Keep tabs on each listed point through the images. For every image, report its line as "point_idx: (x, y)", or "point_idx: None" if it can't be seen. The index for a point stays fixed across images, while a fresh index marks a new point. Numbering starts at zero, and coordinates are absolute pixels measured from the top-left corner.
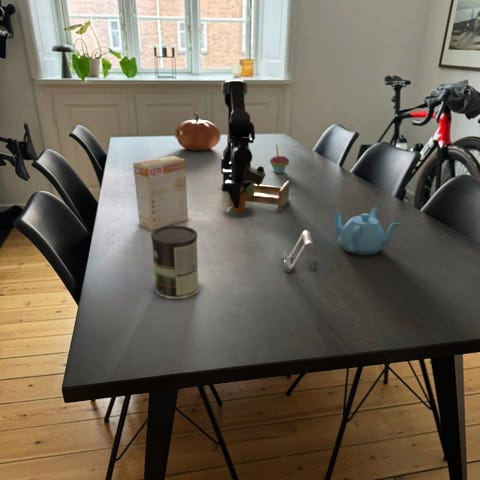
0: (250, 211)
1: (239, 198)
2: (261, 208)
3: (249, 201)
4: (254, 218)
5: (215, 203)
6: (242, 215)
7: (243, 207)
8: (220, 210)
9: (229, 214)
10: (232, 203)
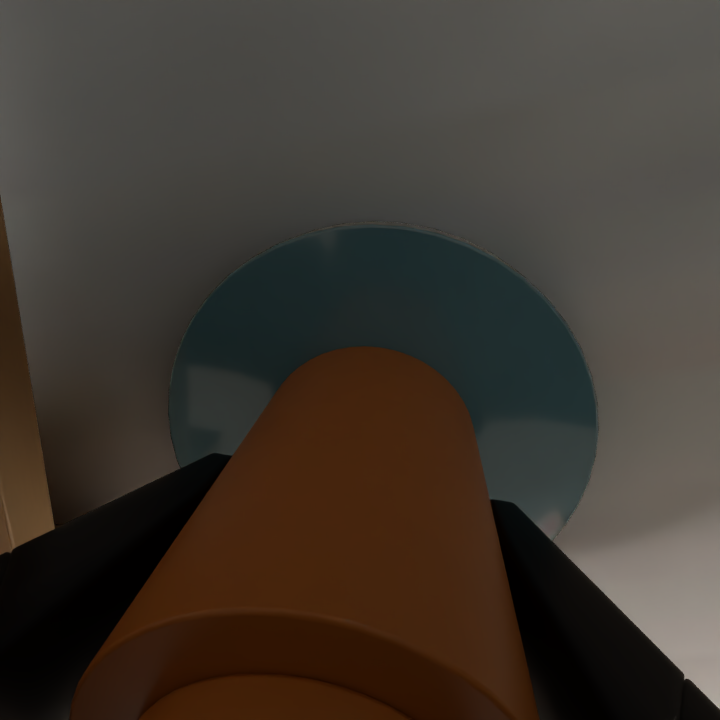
0: (354, 248)
1: (696, 714)
2: (7, 84)
3: (22, 339)
4: (612, 117)
5: None
6: (585, 359)
7: (434, 406)
8: None
9: None
10: None
